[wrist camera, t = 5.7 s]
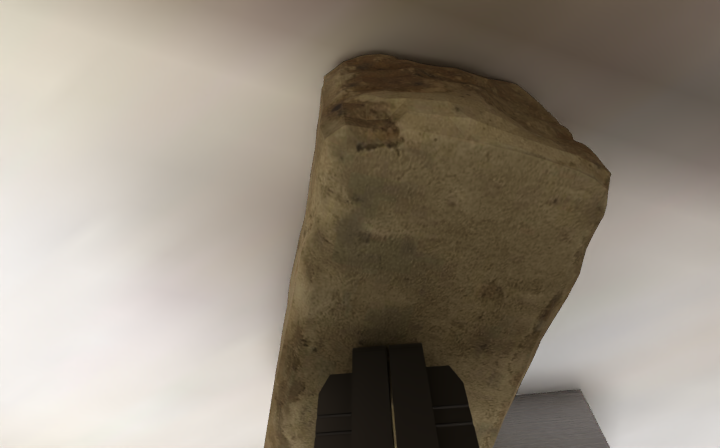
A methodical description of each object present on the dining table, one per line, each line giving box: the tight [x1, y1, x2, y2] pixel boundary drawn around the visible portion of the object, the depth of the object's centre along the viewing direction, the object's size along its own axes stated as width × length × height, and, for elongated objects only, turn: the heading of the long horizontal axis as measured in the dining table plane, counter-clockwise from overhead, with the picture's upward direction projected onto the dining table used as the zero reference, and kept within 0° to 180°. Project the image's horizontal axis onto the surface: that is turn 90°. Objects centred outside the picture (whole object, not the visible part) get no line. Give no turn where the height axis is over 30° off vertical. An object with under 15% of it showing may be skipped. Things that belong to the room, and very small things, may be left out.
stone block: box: [264, 54, 611, 448], centre depth 14 cm, size 6×12×5 cm, turn 169°
